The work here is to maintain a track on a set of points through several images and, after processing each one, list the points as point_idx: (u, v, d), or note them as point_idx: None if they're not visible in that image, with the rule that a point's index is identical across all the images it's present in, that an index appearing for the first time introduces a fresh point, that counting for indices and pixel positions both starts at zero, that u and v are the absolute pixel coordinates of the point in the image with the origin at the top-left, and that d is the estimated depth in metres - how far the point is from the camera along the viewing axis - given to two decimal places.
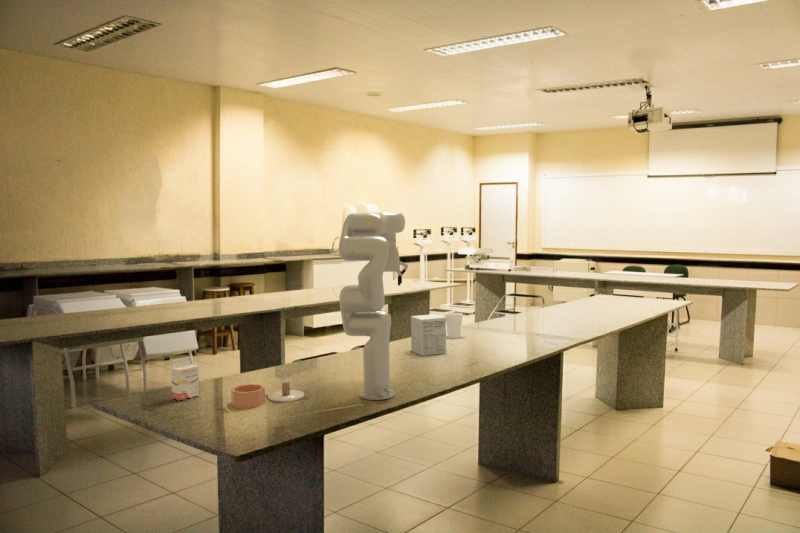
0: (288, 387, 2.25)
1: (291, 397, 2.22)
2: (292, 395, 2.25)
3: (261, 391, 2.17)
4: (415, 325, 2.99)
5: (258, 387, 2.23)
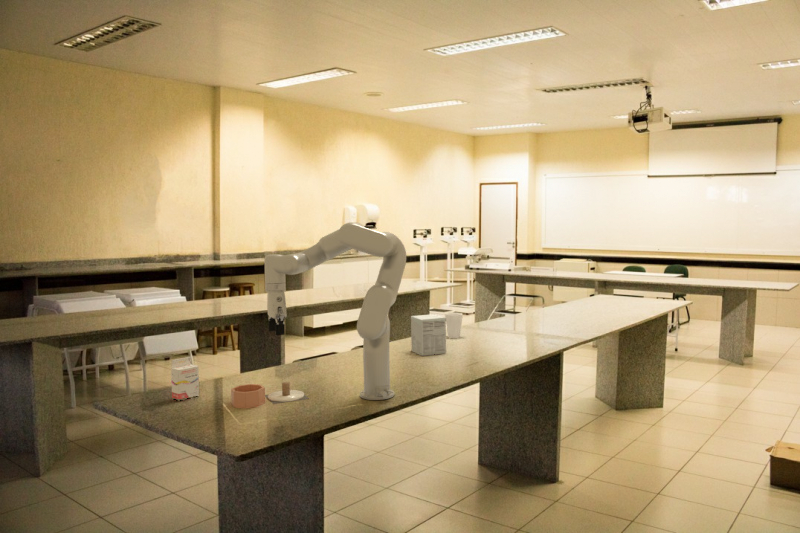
0: (288, 387, 2.25)
1: (291, 397, 2.22)
2: (292, 395, 2.25)
3: (261, 391, 2.17)
4: (415, 325, 2.99)
5: (258, 387, 2.23)
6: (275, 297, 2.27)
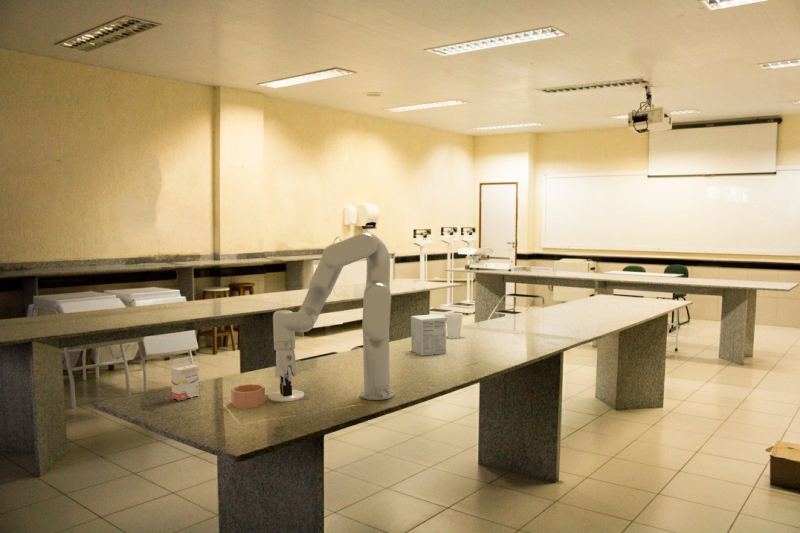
0: None
1: (291, 397, 2.22)
2: (292, 395, 2.25)
3: (261, 391, 2.17)
4: (415, 325, 2.99)
5: (258, 387, 2.23)
6: (284, 356, 2.21)
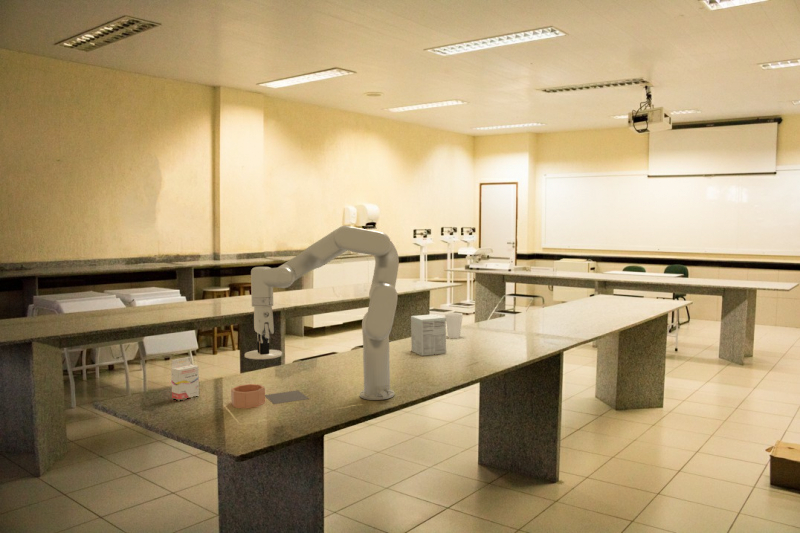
0: None
1: (268, 355, 2.17)
2: (269, 353, 2.20)
3: (261, 391, 2.17)
4: (415, 325, 2.99)
5: (258, 387, 2.23)
6: (262, 312, 2.15)
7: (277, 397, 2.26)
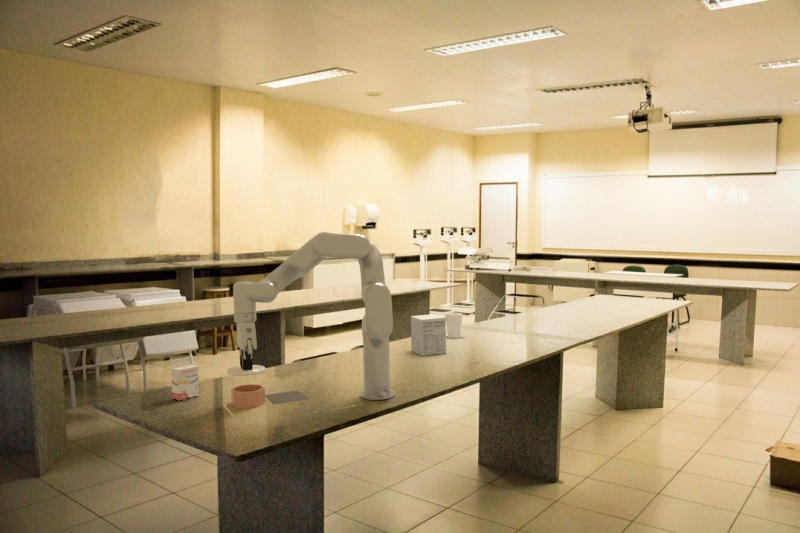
0: None
1: (251, 371, 2.14)
2: (252, 369, 2.17)
3: (261, 391, 2.17)
4: (415, 325, 2.99)
5: (258, 387, 2.23)
6: (244, 328, 2.12)
7: (277, 397, 2.26)
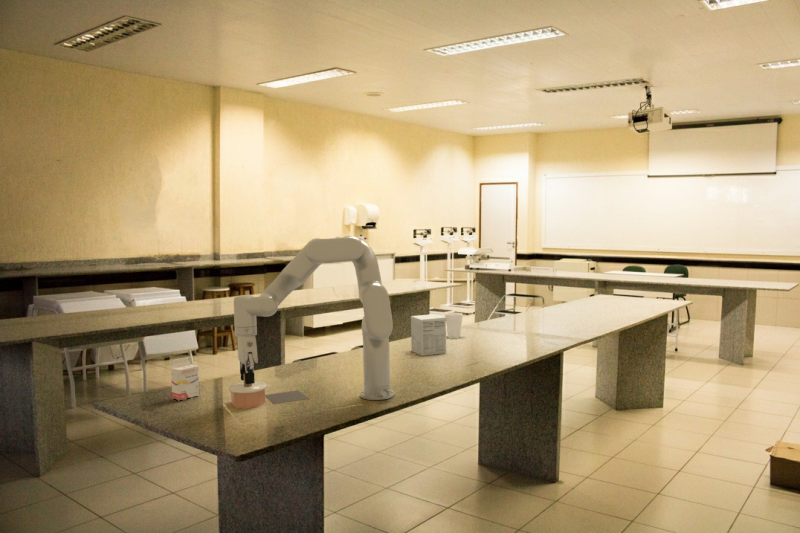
0: None
1: (252, 388, 2.15)
2: (254, 386, 2.17)
3: (261, 391, 2.17)
4: (415, 325, 2.99)
5: None
6: (245, 342, 2.13)
7: (277, 397, 2.26)
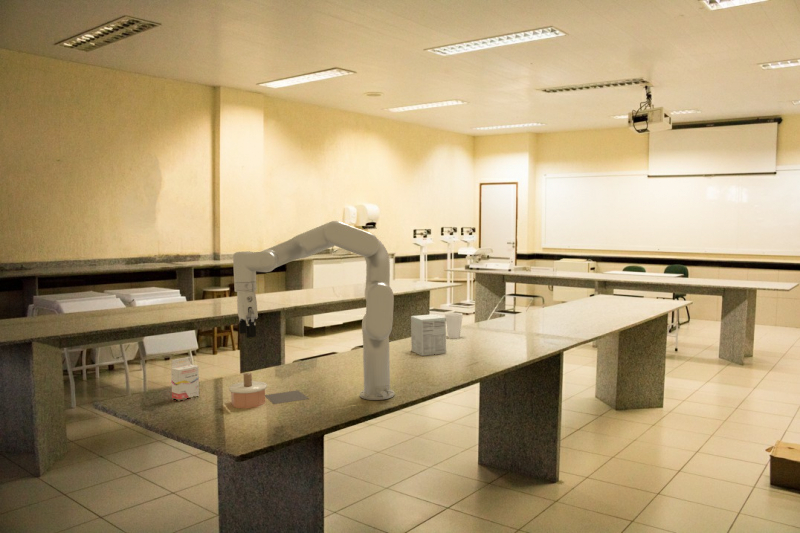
0: (250, 378, 2.18)
1: (252, 388, 2.15)
2: (254, 386, 2.17)
3: (261, 391, 2.17)
4: (415, 325, 2.99)
5: None
6: (245, 297, 2.13)
7: (277, 397, 2.26)
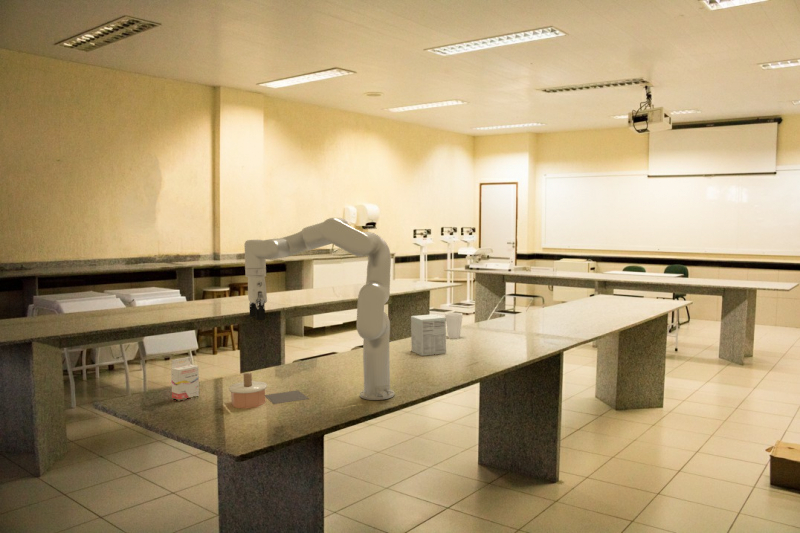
0: (250, 378, 2.18)
1: (252, 388, 2.15)
2: (254, 386, 2.17)
3: (261, 391, 2.17)
4: (415, 325, 2.99)
5: None
6: (255, 282, 2.28)
7: (277, 397, 2.26)
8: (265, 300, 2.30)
